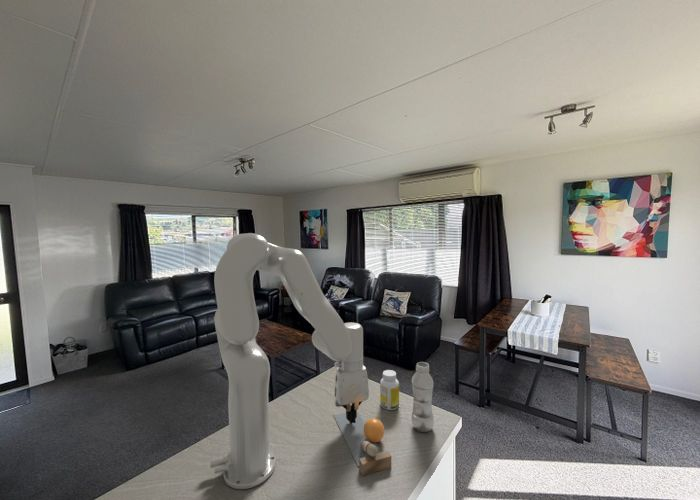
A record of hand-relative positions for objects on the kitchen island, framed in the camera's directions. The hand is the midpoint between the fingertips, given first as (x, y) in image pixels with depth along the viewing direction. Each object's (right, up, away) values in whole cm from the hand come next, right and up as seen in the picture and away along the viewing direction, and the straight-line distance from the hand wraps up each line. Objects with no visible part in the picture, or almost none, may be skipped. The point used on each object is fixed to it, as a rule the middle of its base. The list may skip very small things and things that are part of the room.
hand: (351, 420), depth 89 cm
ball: (+6, +1, -7) cm, 10 cm away
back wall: (+6, -2, -17) cm, 18 cm away
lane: (+2, -2, -5) cm, 5 cm away
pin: (+3, -1, -10) cm, 11 cm away
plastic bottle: (+22, -2, -2) cm, 22 cm away
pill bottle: (+13, -1, +10) cm, 17 cm away
